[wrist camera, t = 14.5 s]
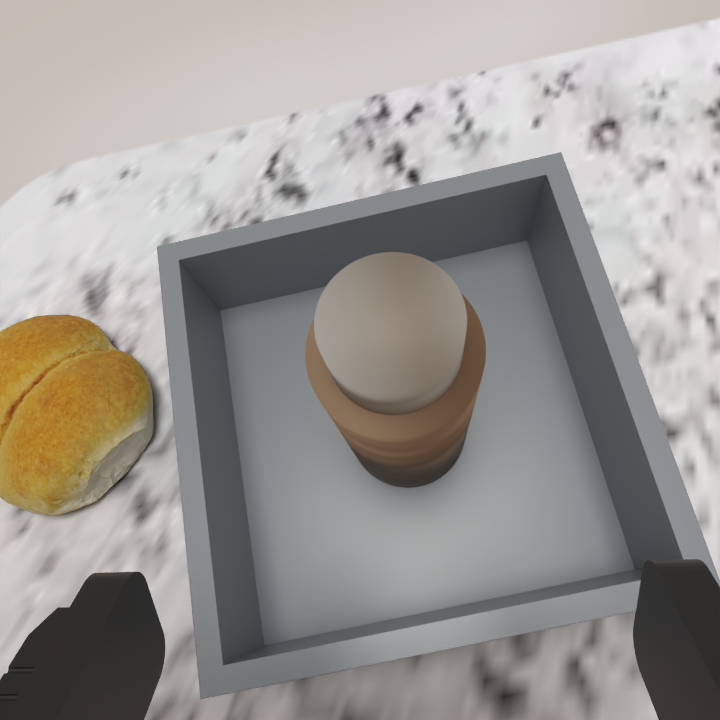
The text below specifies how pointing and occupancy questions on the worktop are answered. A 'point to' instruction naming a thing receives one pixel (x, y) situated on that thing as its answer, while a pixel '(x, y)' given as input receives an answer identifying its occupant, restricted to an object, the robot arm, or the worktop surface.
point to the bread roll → (67, 414)
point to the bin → (432, 501)
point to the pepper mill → (397, 365)
